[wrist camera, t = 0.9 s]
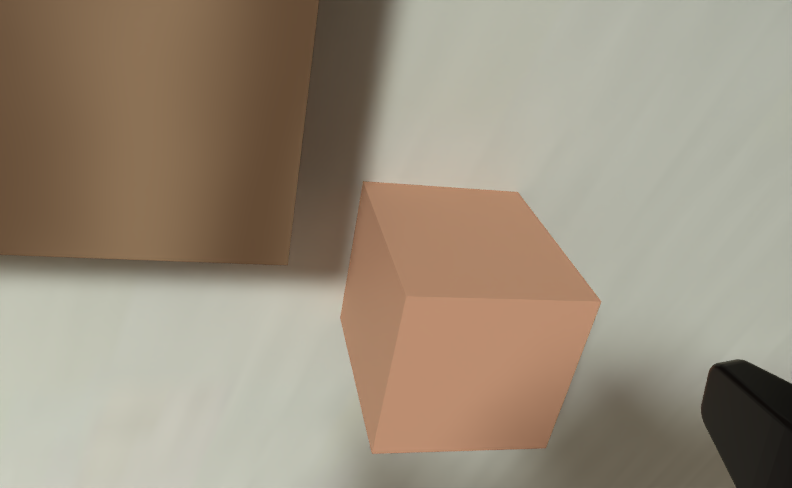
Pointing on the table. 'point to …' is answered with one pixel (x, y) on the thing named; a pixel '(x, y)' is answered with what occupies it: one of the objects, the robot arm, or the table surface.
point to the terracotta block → (460, 320)
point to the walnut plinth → (152, 127)
